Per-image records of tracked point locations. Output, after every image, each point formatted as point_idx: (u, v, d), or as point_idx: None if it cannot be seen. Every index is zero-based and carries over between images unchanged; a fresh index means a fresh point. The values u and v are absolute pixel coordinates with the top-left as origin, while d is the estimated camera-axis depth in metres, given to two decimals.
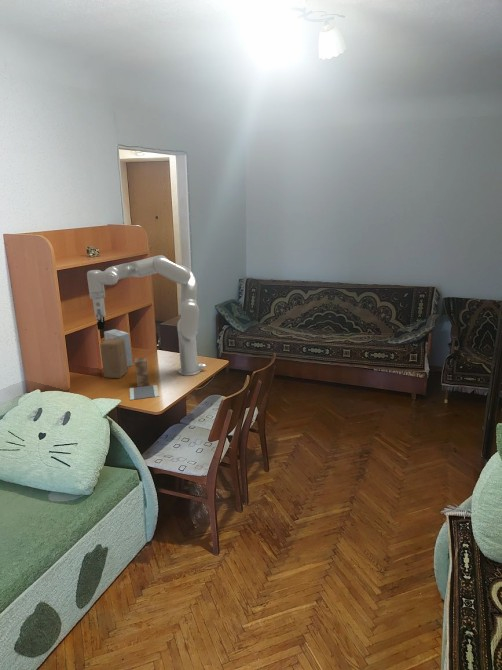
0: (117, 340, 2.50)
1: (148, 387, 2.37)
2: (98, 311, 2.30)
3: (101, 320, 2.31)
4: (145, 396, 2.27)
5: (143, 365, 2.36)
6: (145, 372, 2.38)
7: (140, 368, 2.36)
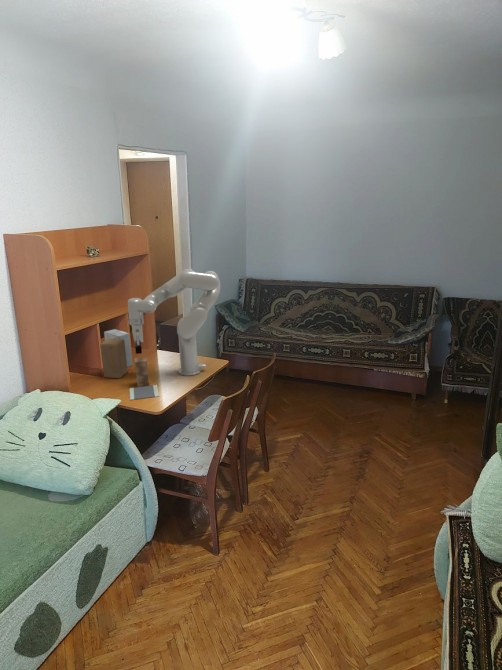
0: (117, 340, 2.50)
1: (148, 387, 2.37)
2: (137, 339, 2.44)
3: (139, 346, 2.49)
4: (145, 396, 2.27)
5: (143, 365, 2.36)
6: (145, 372, 2.38)
7: (140, 368, 2.36)
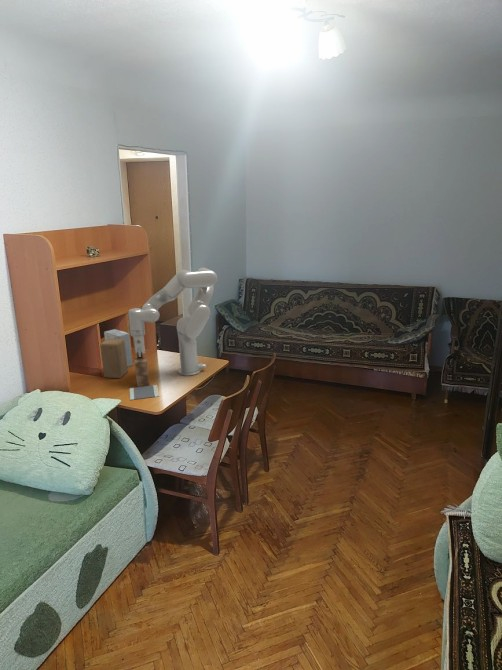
0: (117, 340, 2.50)
1: (148, 387, 2.37)
2: (139, 351, 2.37)
3: (141, 357, 2.42)
4: (145, 396, 2.27)
5: (143, 365, 2.36)
6: (145, 373, 2.37)
7: (140, 368, 2.36)
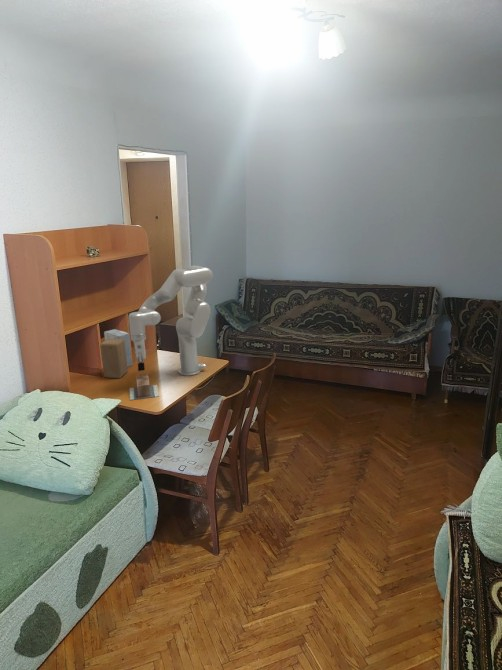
0: (117, 340, 2.50)
1: None
2: (140, 356, 2.30)
3: (142, 362, 2.35)
4: None
5: None
6: None
7: None
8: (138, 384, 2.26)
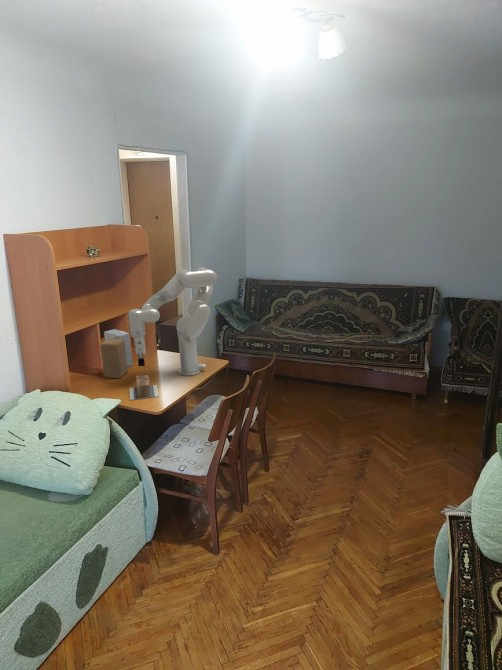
0: (117, 340, 2.50)
1: None
2: (140, 352, 2.36)
3: (142, 358, 2.41)
4: None
5: None
6: None
7: None
8: (138, 384, 2.26)
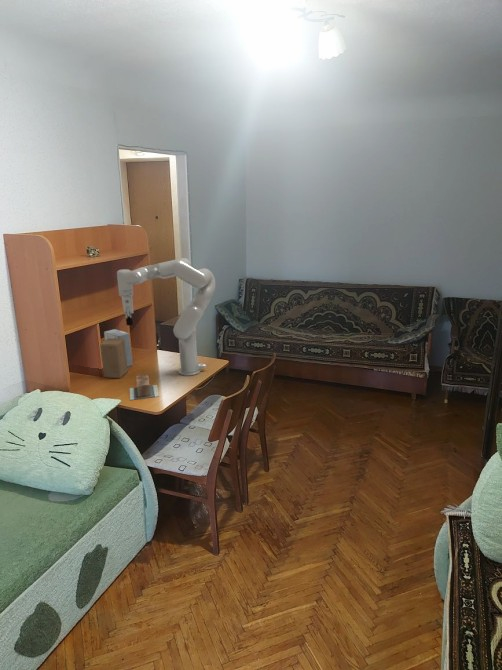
0: (117, 340, 2.50)
1: None
2: (127, 310, 2.46)
3: (130, 317, 2.51)
4: None
5: None
6: None
7: None
8: (138, 384, 2.26)
